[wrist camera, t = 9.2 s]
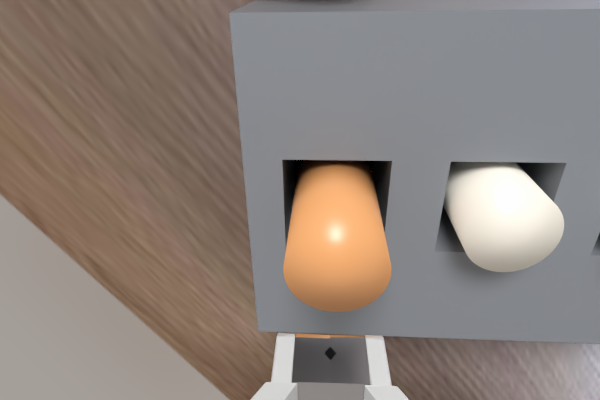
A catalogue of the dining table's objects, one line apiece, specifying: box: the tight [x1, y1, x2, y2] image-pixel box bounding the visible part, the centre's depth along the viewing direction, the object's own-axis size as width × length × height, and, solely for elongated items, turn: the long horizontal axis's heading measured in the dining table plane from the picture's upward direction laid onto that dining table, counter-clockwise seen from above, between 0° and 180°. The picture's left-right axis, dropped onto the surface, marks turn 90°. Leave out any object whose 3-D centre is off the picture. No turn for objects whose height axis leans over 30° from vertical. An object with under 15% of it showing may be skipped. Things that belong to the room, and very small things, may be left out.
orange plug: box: [283, 160, 392, 312], centre depth 18 cm, size 4×4×7 cm
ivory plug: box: [443, 162, 564, 272], centre depth 19 cm, size 4×4×7 cm
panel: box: [229, 0, 600, 344], centre depth 21 cm, size 22×16×6 cm
